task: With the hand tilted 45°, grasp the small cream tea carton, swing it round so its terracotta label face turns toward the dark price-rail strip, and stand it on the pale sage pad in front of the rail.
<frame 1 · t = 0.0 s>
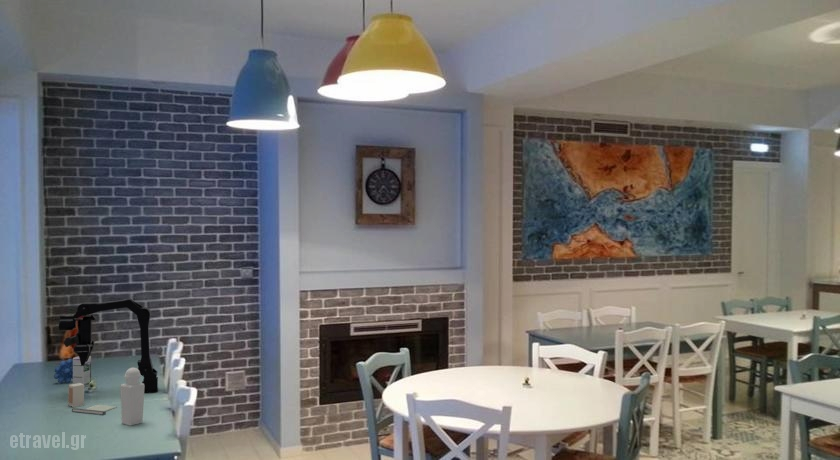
hand: (84, 363, 299), 15 cm above the table, tool pointing down, fingers open, 9 cm apart
syrup box: (81, 386, 317), on the table
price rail: (88, 412, 271), on the table
soap dispenser: (132, 423, 258), on the table
grapes: (67, 383, 323), on the table
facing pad: (98, 409, 277), on the table
tea carton: (76, 405, 283), on the table
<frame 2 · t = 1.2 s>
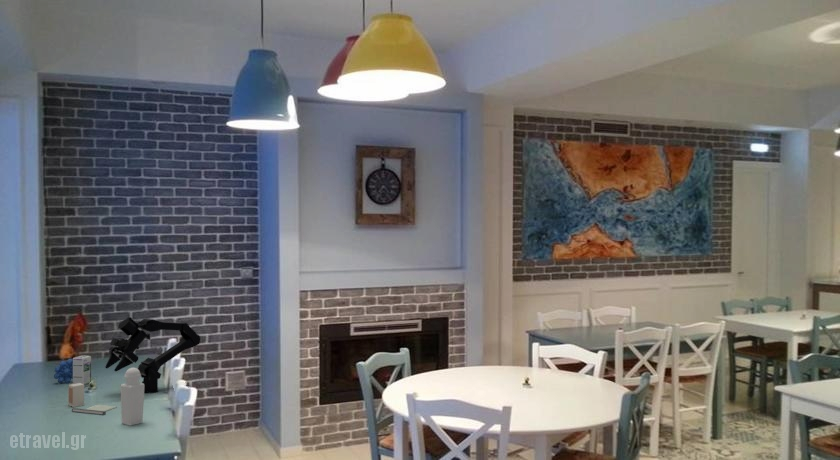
hand: (110, 369, 294), 13 cm above the table, tool tilted 45°, fingers open, 9 cm apart
nothing on the table moved.
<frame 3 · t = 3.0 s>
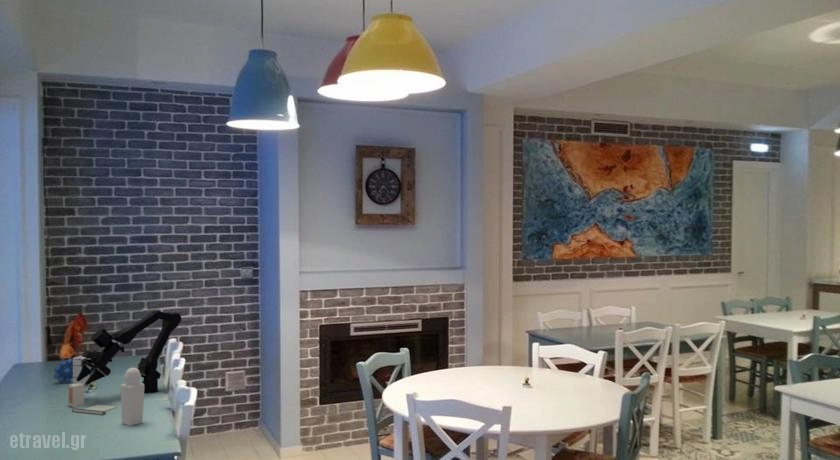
hand: (81, 382, 284), 10 cm above the table, tool tilted 45°, fingers open, 9 cm apart
nothing on the table moved.
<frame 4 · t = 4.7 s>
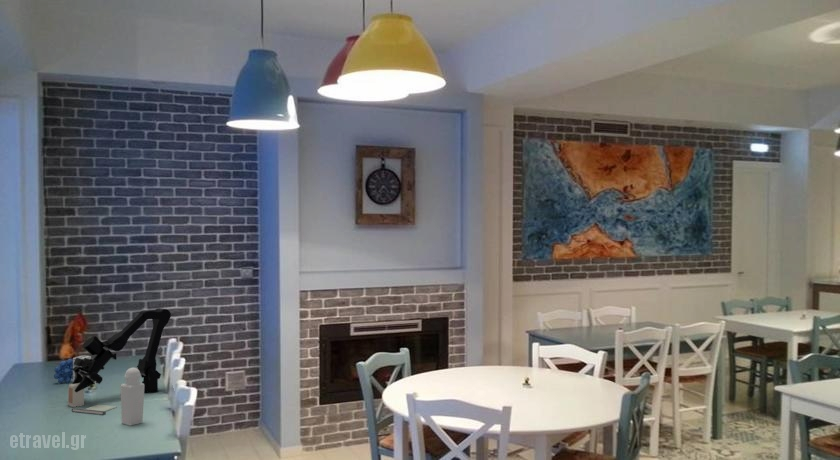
hand: (73, 390, 282), 7 cm above the table, tool tilted 45°, fingers closed on tea carton, 5 cm apart
tea carton: (76, 405, 283), on the table, touching gripper
everything else where it was.
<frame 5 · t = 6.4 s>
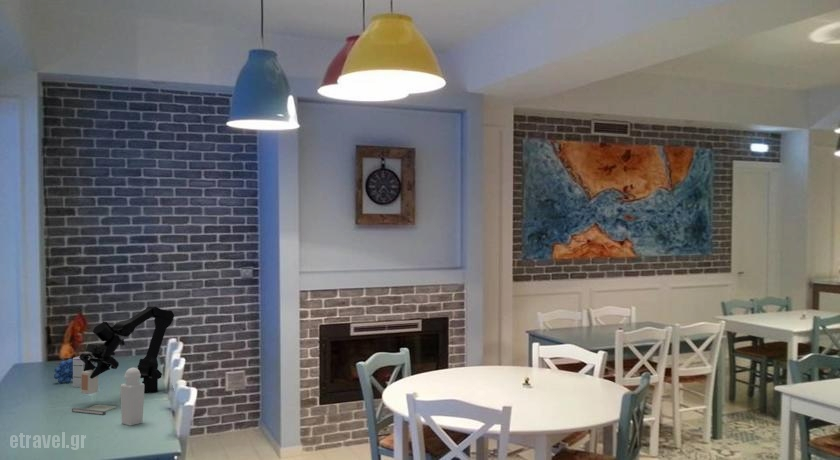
hand: (86, 377, 277), 13 cm above the table, tool tilted 45°, fingers closed on tea carton, 5 cm apart
tea carton: (89, 392, 278), point 7 cm above the table, touching gripper
everything else where it was.
when the fingers open (8 cm above the table, at t = 8.4 s): tea carton drops 1 cm, resting on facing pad.
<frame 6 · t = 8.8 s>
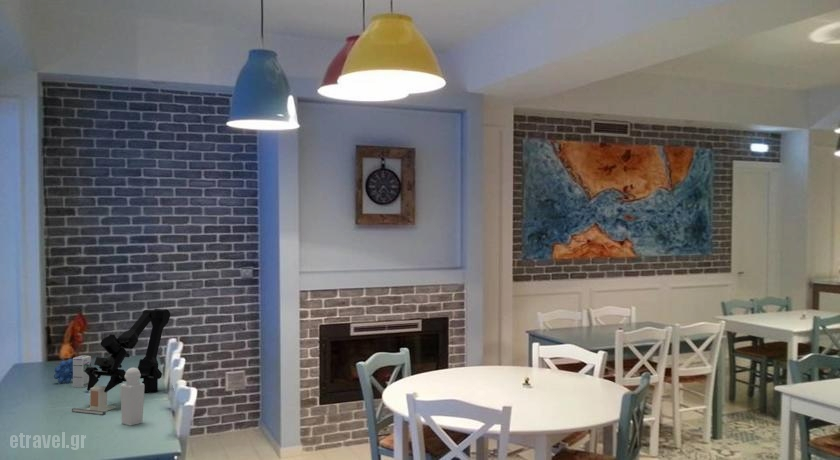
hand: (96, 391, 275), 8 cm above the table, tool tilted 45°, fingers open, 8 cm apart
tea carton: (98, 408, 277), resting on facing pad
everything else where it was.
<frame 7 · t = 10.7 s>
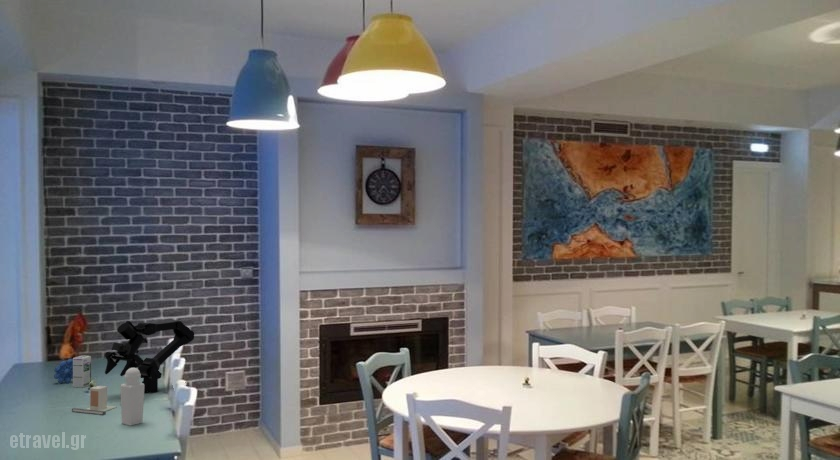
hand: (113, 374, 289), 12 cm above the table, tool tilted 45°, fingers open, 9 cm apart
nothing on the table moved.
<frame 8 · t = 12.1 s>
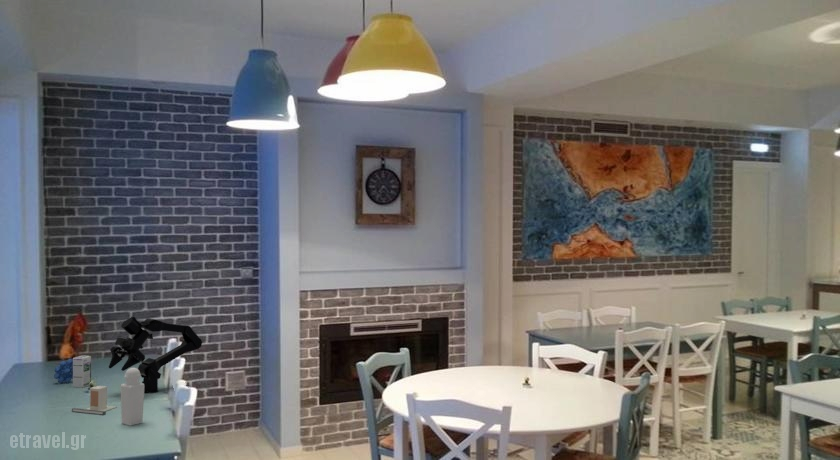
hand: (115, 369, 293), 14 cm above the table, tool tilted 45°, fingers open, 9 cm apart
nothing on the table moved.
at the end: tea carton 0.1 cm from the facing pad (horizontally); tea carton tilted 0°; the gripper is holding nothing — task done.
